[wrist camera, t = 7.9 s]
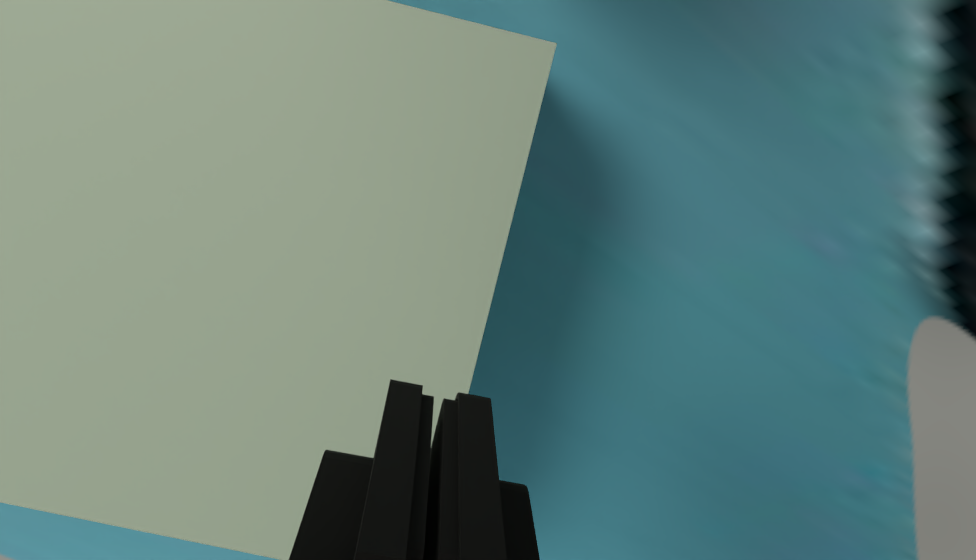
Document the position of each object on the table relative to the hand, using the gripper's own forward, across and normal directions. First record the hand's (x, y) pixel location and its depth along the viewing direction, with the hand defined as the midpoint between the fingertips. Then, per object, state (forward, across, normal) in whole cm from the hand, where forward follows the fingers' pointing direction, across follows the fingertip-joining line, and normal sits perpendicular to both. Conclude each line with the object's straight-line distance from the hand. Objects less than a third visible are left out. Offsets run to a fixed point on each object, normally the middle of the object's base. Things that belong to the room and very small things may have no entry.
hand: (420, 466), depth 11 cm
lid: (+8, +6, +1) cm, 10 cm away
